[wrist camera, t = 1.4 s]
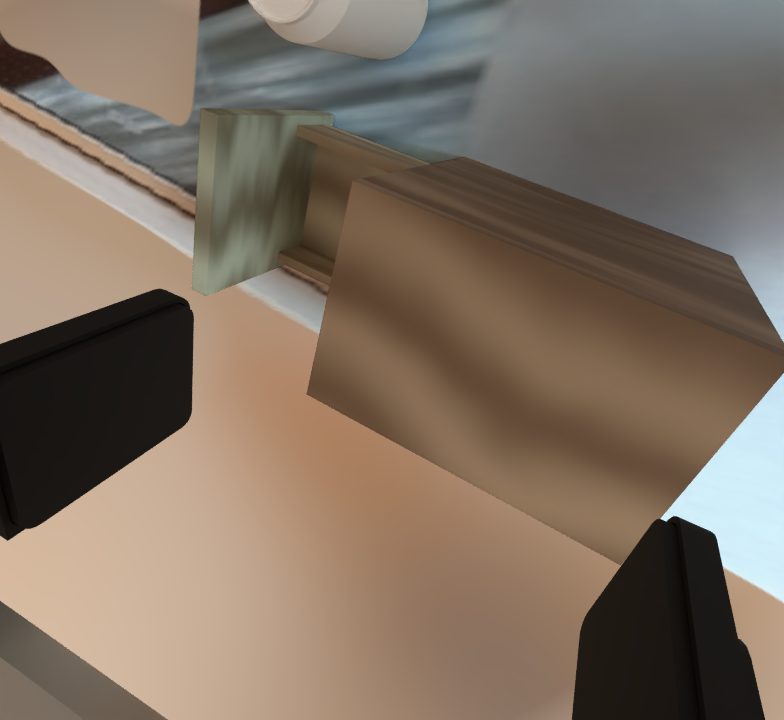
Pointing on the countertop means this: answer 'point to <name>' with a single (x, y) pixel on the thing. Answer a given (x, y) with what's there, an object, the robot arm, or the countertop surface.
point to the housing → (539, 345)
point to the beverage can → (347, 24)
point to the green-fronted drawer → (276, 192)
